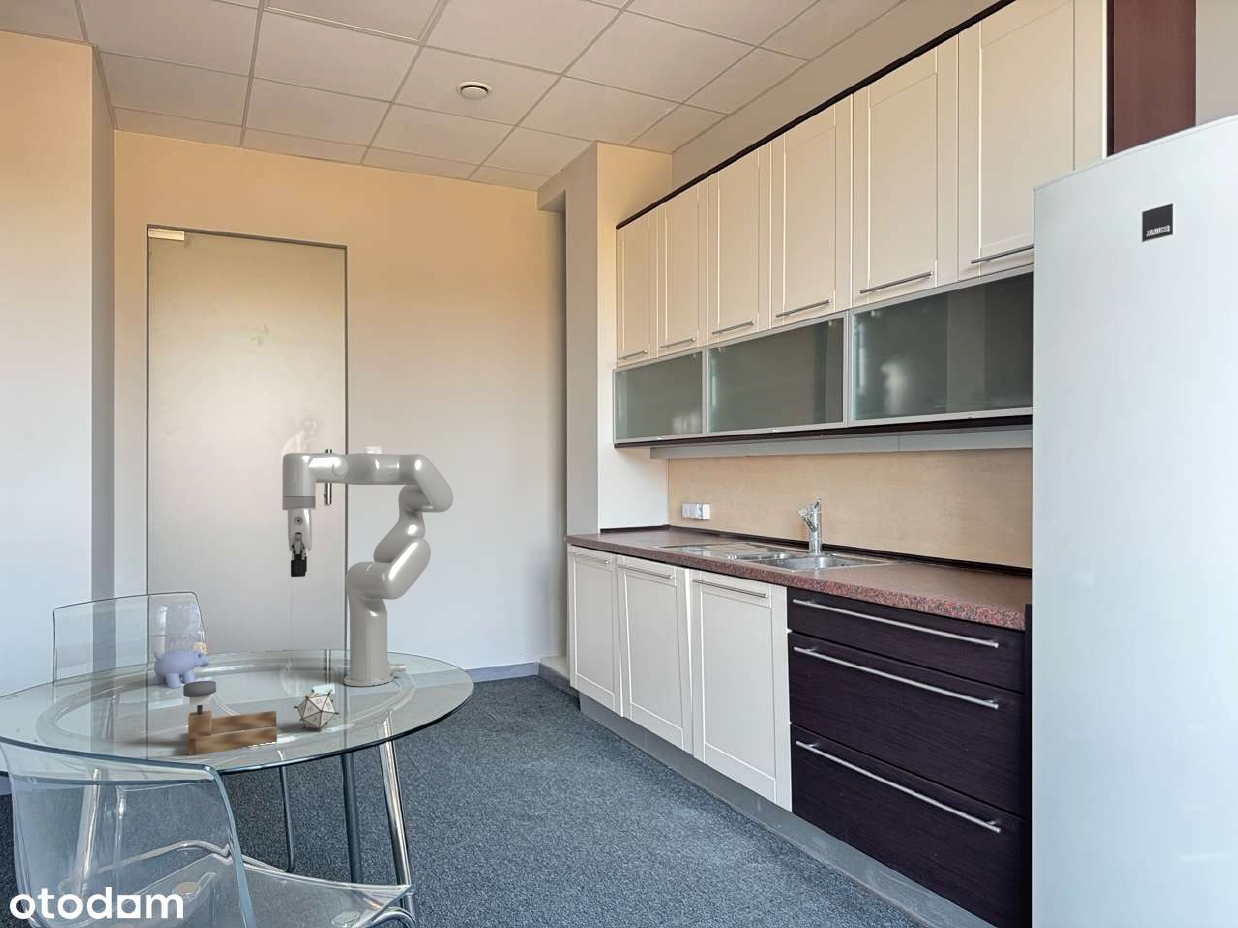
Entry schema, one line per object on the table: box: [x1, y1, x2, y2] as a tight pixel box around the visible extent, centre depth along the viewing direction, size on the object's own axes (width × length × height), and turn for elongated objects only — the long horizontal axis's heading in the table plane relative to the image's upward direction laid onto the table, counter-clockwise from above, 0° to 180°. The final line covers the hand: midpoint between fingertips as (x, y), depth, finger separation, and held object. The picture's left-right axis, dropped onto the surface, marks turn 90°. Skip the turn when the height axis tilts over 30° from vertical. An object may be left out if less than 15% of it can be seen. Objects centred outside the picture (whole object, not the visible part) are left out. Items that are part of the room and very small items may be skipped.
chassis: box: [187, 705, 278, 756], centre depth 171 cm, size 16×14×8 cm
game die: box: [293, 688, 341, 732], centre depth 177 cm, size 9×8×10 cm
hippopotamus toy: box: [152, 649, 211, 689], centre depth 220 cm, size 11×15×10 cm
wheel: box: [182, 680, 217, 707], centre depth 169 cm, size 6×6×4 cm
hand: (299, 574), depth 199 cm, fingers open, 9 cm apart
